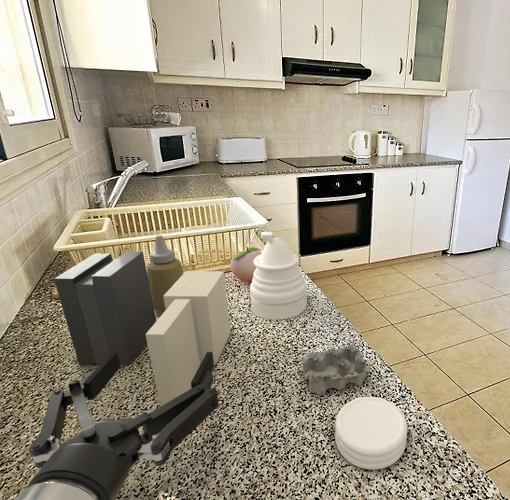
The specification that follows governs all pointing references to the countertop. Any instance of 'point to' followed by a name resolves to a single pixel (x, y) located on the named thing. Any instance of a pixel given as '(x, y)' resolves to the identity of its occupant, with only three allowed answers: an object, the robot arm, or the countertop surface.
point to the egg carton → (334, 369)
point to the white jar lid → (371, 432)
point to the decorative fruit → (244, 264)
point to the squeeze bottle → (162, 273)
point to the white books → (205, 308)
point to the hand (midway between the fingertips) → (163, 359)
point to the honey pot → (277, 282)
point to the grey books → (107, 307)
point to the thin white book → (173, 350)
